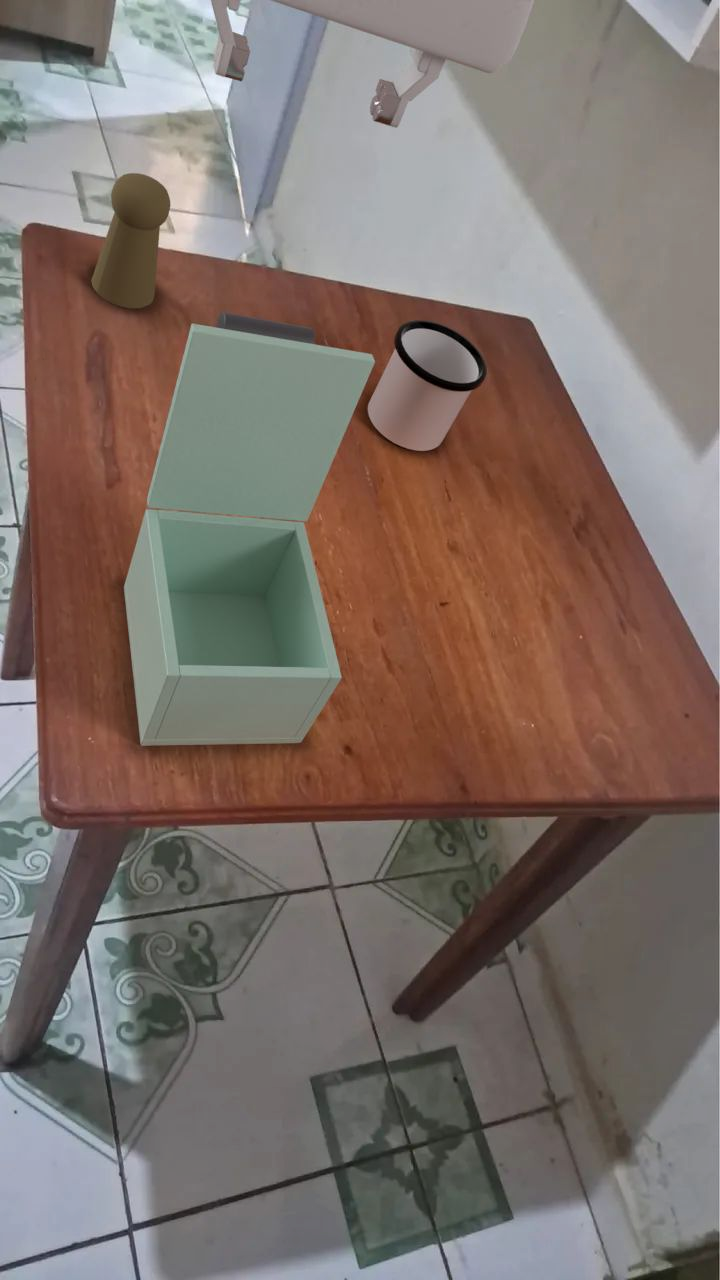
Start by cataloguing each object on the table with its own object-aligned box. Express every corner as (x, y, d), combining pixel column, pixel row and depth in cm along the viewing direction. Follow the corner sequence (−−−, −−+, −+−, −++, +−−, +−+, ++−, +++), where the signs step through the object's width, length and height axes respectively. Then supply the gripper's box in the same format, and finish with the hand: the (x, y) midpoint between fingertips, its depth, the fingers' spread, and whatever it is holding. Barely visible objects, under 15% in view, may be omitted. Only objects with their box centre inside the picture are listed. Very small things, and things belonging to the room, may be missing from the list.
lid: (375, 361, 59) (356, 313, 62) (193, 330, 55) (181, 279, 58) (307, 522, 69) (293, 473, 72) (147, 508, 65) (139, 456, 68)
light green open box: (300, 743, 69) (342, 677, 63) (140, 746, 64) (167, 675, 58) (269, 594, 76) (304, 522, 70) (123, 587, 72) (145, 508, 65)
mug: (396, 464, 92) (435, 392, 85) (343, 397, 95) (377, 323, 88) (481, 444, 99) (523, 377, 92) (430, 382, 102) (467, 313, 95)
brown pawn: (143, 269, 95) (166, 166, 87) (162, 309, 93) (187, 207, 85) (83, 266, 92) (101, 159, 84) (101, 307, 90) (121, 200, 82)
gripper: (567, -140, 50) (454, 118, 60) (179, -316, 42) (126, 16, 52) (605, -92, 46) (479, 173, 57) (191, -274, 38) (131, 73, 49)
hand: (307, 97), depth 54 cm, fingers open, 8 cm apart
